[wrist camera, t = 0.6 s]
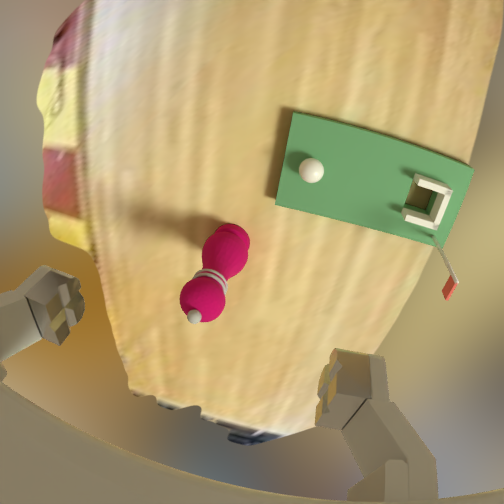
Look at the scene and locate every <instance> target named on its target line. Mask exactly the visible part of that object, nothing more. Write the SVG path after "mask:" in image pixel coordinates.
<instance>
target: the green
mask: <svg viewBox="0 0 504 504" xmlns="http://www.w3.org/2000/svg"><path fill="white" fill-rule="evenodd" d="M308 158H314V159H317V160H319V161H320V162H321V163H322V165H323V167H324V174H323V177H322V178H321V179H320V180H319V181H318V182H315V183H308V182H306V181H304V180H303V179H302V178H301V176H300V174H299V166H300V164H301V163H302V162H303V161H304V160H305V159H308ZM473 173H474V169H473V168H472V167H470V166H469V165H467V164H464V163H462V162H459V161H457V160H455V159H452V158H449V157H447V156H444V155H442V154H439V153H437V152H434V151H431V150H428V149H426V148H423V147H420V146H417V145H414V144H412V143H409V142H406V141H403V140H400V139H397V138H394V137H390V136H387V135H384V134H381V133H378V132H374V131H371V130H367V129H364V128H360V127H357V126H353V125H350V124H346V123H342V122H338V121H334V120H330V119H326V118H322V117H318V116H314V115H309V114H305V113H300V112H296V111H294V112H293V116H292V121H291V126H290V132H289V137H288V142H287V147H286V152H285V157H284V162H283V167H282V172H281V177H280V182H279V187H278V192H277V197H276V202H275V205H278V206H282V207H287V208H291V209H295V210H300V211H304V212H308V213H312V214H316V215H320V216H324V217H328V218H332V219H336V220H340V221H344V222H348V223H352V224H356V225H360V226H363V227H367V228H371V229H375V230H378V231H382V232H386V233H390V234H393V235H397V236H400V237H404V238H407V239H411V240H415V241H418V242H421V243H425V244H428V245H432V246H435V247H437V248H438V250H439V252H440V254H441V256H442V258H443V260H444V262H445V264H446V266H447V268H448V270H449V272H450V274H451V275H450V277H449V279H448V281H447V282H446V284H445V286H444V288H443V290H442V292H443V295H444V298H445V300H449V298H450V296H451V294H452V293H453V291H454V289H455V287H456V286H457V284H458V283H459V281H458V279H457V277H456V275H455V273H454V271H453V269H452V267H451V265H450V263H449V261H448V259H447V257H446V255H445V253H444V252H443V250H442V248H443V246H444V244H445V242H446V239H447V237H448V235H449V233H450V230H451V228H452V226H453V224H454V221H455V219H456V217H457V214H458V212H459V210H460V207H461V205H462V202H463V200H464V197H465V194H466V192H467V189H468V187H469V184H470V181H471V178H472V176H473ZM413 180H414V181H415V183H416V184H417V185H418V186H421V187H424V188H427V189H430V190H433V192H432V195H431V198H430V200H429V203H428V206H427V208H426V210H424V209H421V208H418V207H414V206H411V205H408V204H405V201H406V198H407V196H408V193H409V190H410V187H411V184H412V181H413Z"/></svg>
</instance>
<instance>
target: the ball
mask: <svg viewBox="0 0 504 504" xmlns="http://www.w3.org/2000/svg"><path fill="white" fill-rule="evenodd" d="M299 174H300V176H301V178H302V179H303V180H304V181H306V182H308V183H315V182H318V181H319V180H320V179H321V178H322V177H323V174H324V167H323V165H322V163H321V162H320V161H319V160H317V159H314V158H308V159H305V160H304V161H303V162H302V163H301V164H300V166H299Z"/></svg>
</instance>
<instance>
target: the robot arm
mask: <svg viewBox="0 0 504 504" xmlns="http://www.w3.org/2000/svg"><path fill="white" fill-rule="evenodd" d="M80 288H81V285H80V281H79V279H78V278H76V277H73V276H71V275H68V274H66V273H63V272H61V271H58V270H56V269H53V268H50V267H48V266H45V265H44V266H40V267H39V268H38V269H37V270H36V271H35V272H34V273H33V274H31V275H30V276H29V277H28V278H27V279H26V280H25V281H24V282H23V283H22V284H21V285H20V286H19V287H18V288H17V289H16V290H15V291H12V290H10V291H8V292H5V293H2V294H0V504H504V488H501V489H497V490H492V491H488V492H482V493H477V494H471V495H464V496H457V497H449V498H441V499H438V483H437V470H436V460H435V457H434V456H433V455H432V453H431V452H430V450H429V449H428V448H427V446H426V445H425V444H424V442H423V441H422V440H421V438H420V437H419V435H418V434H417V433H416V431H415V430H414V429H413V427H412V426H411V425H410V423H409V422H408V420H407V419H406V418H405V416H404V415H403V414H402V412H401V411H400V410H399V408H398V407H397V406H396V404H395V403H394V402H390V401H389V390H388V381H387V373H386V364H385V359H384V357H383V356H378V355H372V354H366V353H360V352H355V351H349V350H343V349H338V348H335V349H334V350H333V351H332V353H331V355H330V363H329V364H327V365H325V367H324V369H323V371H322V373H321V376H320V380H319V385H318V393H317V395H318V396H319V398H320V401H319V403H318V405H317V406H316V416H315V426H320V427H325V428H332V429H338V430H342V431H341V432H342V434H343V436H344V438H345V440H346V442H347V444H348V446H349V448H350V450H351V452H352V454H353V456H354V458H355V460H356V462H357V464H358V466H359V468H360V470H361V472H362V474H363V477H364V479H363V480H361V481H360V482H358V483H357V484H355V485H354V486H353V487H351V488H350V489H348V493H347V501H336V500H325V499H314V498H305V497H297V496H290V495H283V494H277V493H271V492H265V491H260V490H254V489H249V488H245V487H239V486H235V485H231V484H227V483H223V482H219V481H215V480H211V479H208V478H204V477H200V476H197V475H193V474H190V473H187V472H184V471H181V470H177V469H174V468H171V467H168V466H165V465H163V464H160V463H157V462H154V461H152V460H149V459H146V458H143V457H141V456H138V455H136V454H133V453H131V452H128V451H126V450H124V449H121V448H119V447H117V446H114V445H112V444H110V443H107V442H105V441H103V440H101V439H99V438H97V437H95V436H93V435H91V434H89V433H86V432H84V431H82V430H81V429H78V428H77V427H75V426H73V425H71V424H69V423H67V422H65V421H63V420H61V419H60V418H58V417H56V416H54V415H53V414H51V413H49V412H47V411H46V410H44V409H42V408H41V407H39V406H37V405H35V404H34V403H33V402H31V401H29V400H28V399H26V398H25V397H23V396H21V395H20V394H18V393H17V392H15V391H14V390H12V389H11V388H10V387H8V386H7V385H5V384H4V383H2V380H3V379H4V378H5V377H6V375H7V371H6V369H5V368H4V366H3V364H2V363H1V362H2V361H3V360H5V359H7V358H9V357H10V356H12V355H14V354H16V353H18V352H19V351H21V350H23V349H25V348H26V347H28V346H30V345H32V344H33V343H35V342H37V341H39V340H41V339H42V338H44V339H46V340H48V341H50V342H53V343H55V344H57V345H59V346H60V345H61V344H62V343H63V341H64V340H65V339H66V338H67V336H68V335H69V334H70V327H71V326H73V325H76V324H77V323H78V322H79V321H80V319H81V318H82V316H83V313H84V310H85V302H84V298H83V296H82V295H81V294H80V292H79V290H80ZM41 337H42V338H41Z"/></svg>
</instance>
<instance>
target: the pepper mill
mask: <svg viewBox="0 0 504 504" xmlns="http://www.w3.org/2000/svg"><path fill="white" fill-rule="evenodd" d="M249 246H250V239H249V236H248V234H247V233H246V232H245V230H244V229H242V228H241V227H239V226H237V225H234V224H225V225H222V226H220V227H219V228H218V229H217V230H216V231H215V233H214V234H213V235H211V236H210V237H209V238H208V239H207V240H206V242H205V244H204V247H203V250H202V263H203V268H202V270H199V271H198V272H196V274H195V275H194V277H193V279H192V280H190V281H189V282H187V283H186V284H185V286H184V287H183V289H182V291H181V294H180V305H181V308H182V310H183V311H184V313H185V314H186V315H187V318H188V321H189V322H191V323H193V324H196V323H198V322H209V321H212V320H214V319H216V318H217V317H218V316H219V315H220V314H221V313H222V311H223V309H224V307H225V295H226V292H227V289H228V284H227V280H228V279H229V278H231V277H233V276H235V275H236V274H238V273H239V272H240V271H241V270H242V269H243V267H244V266H245V264H246V262H247V259H248V249H249Z"/></svg>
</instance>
